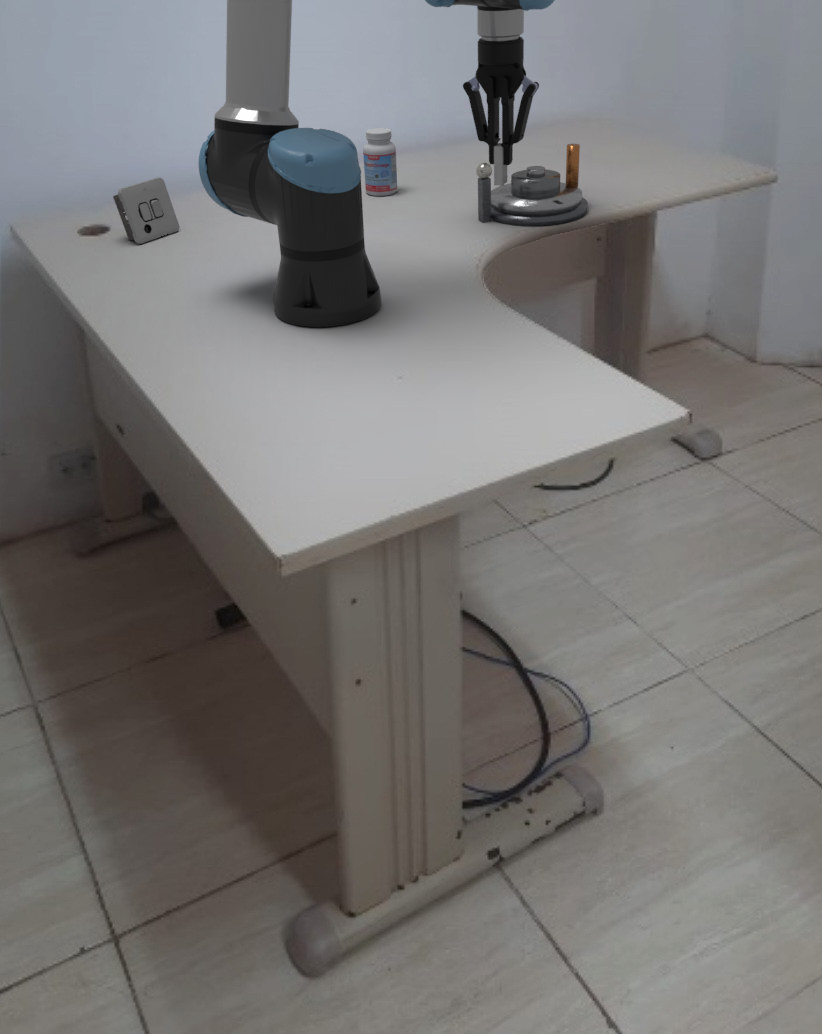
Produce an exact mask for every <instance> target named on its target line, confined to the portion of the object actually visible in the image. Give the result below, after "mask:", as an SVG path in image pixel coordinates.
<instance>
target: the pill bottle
mask: <svg viewBox="0 0 822 1034" xmlns="http://www.w3.org/2000/svg"><path fill="white" fill-rule="evenodd" d="M392 136H393V135H392V130H391V129H390V128H386V127H376V128H375V127H374V128H369V129H367V130H365V138H366V141H367V142H366V143H365V144H364V146H363V151H362V152H363V153H362V154H363V164H364V165H363V169H364V185H365V192H366V193H367V194H368V195H369V196H373V197H385V196H390V195H394V194H395V193H396V192H397V191H398V174H397V170H398V168H397V151H396V145H395V144H394V143H393V142H392V141H391V140H392Z"/></svg>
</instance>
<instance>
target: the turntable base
mask: <svg viewBox="0 0 822 1034" xmlns="http://www.w3.org/2000/svg"><path fill="white" fill-rule="evenodd" d="M588 208H589V207H588V200H587V199H586V198H585V197H583V196H582V203H581V205H580V206H578V207H577V208H575V209H573V210H570V211H566V212H562V213H557V214H550V215H516V214H509V213H504V212H501V211H498V210H495V209H494V208H492V207H491V221H493V222H495V221H496V223H501V224H504V225H508V224H509V226H516V227H517V226H519V227H547V226H548V227H549V226H556V225H562V224H568V223H571V222H574V221H577V220H580V219H582V218H583V217H584V216H585V215H586V214H587V213H588Z"/></svg>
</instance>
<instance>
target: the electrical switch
mask: <svg viewBox="0 0 822 1034" xmlns="http://www.w3.org/2000/svg"><path fill="white" fill-rule="evenodd" d="M112 198H113V200H114V204H115V205H116V208H117V211H118V214H119V217H120V220H121V222H122V225H123V227H124V231H125V233H126V237H127V238H128V241H129V240H132V241H134V242H135V243H136V244H137V245H141V244H145V243H147V242H151V241H153V240H156V239H158V238H161V236H162V237H165V236H167V234H168V235H170V234H173V233H175V232H178V231H179V230H180V224H179V222H178V218H177V215H176V212H175V209H174V207H173V203H172V201H171V197H170V195H169V191H168V189H167V186H166V183H165V181H164V178H162V177H156V178H152V179H148V180H144V181H141V182H138V183H134V184H132V185H129V186H125V187H123V188H122V187H121V188H119V189H118V192H117V194H115V195H113V197H112ZM164 235H165V236H164Z"/></svg>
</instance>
